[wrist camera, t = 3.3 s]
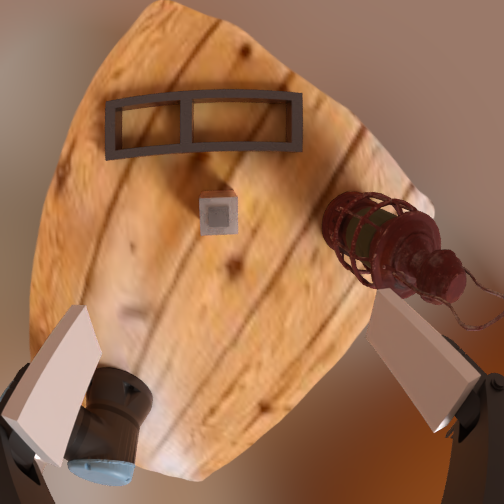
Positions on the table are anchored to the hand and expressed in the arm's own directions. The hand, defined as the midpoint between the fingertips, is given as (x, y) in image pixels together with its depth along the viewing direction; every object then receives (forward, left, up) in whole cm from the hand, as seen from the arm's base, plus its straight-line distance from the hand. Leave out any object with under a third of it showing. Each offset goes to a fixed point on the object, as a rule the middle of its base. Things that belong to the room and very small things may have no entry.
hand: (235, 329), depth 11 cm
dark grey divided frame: (-2, +12, -29) cm, 32 cm away
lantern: (+21, -3, -30) cm, 36 cm away
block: (0, 0, -29) cm, 29 cm away
